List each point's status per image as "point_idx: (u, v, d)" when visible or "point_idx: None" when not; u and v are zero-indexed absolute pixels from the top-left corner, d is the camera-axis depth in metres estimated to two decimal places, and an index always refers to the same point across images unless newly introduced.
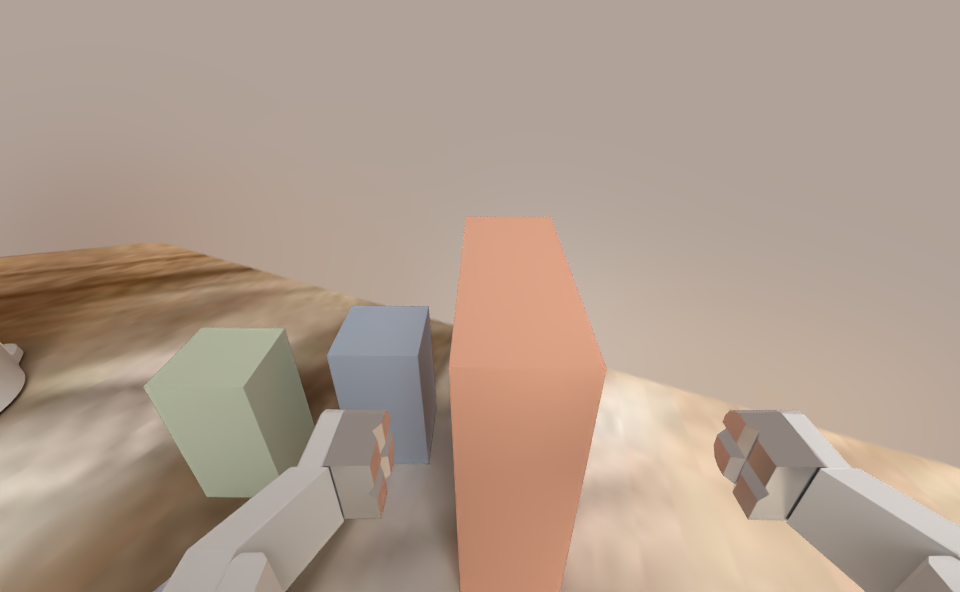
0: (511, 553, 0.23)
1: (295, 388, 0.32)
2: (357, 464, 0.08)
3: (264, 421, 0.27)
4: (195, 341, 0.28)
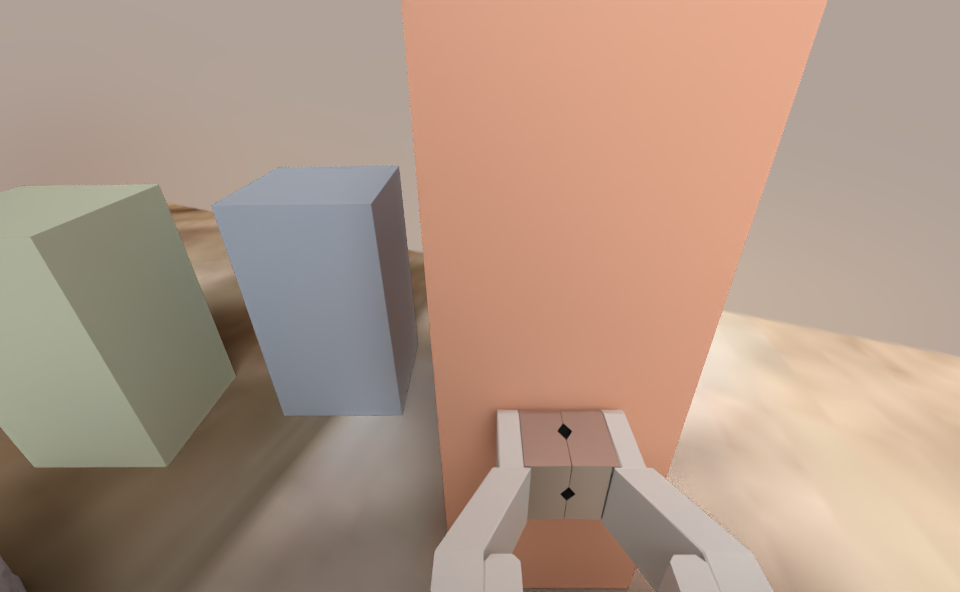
0: None
1: (186, 293, 0.20)
2: (558, 465, 0.08)
3: (101, 321, 0.15)
4: None
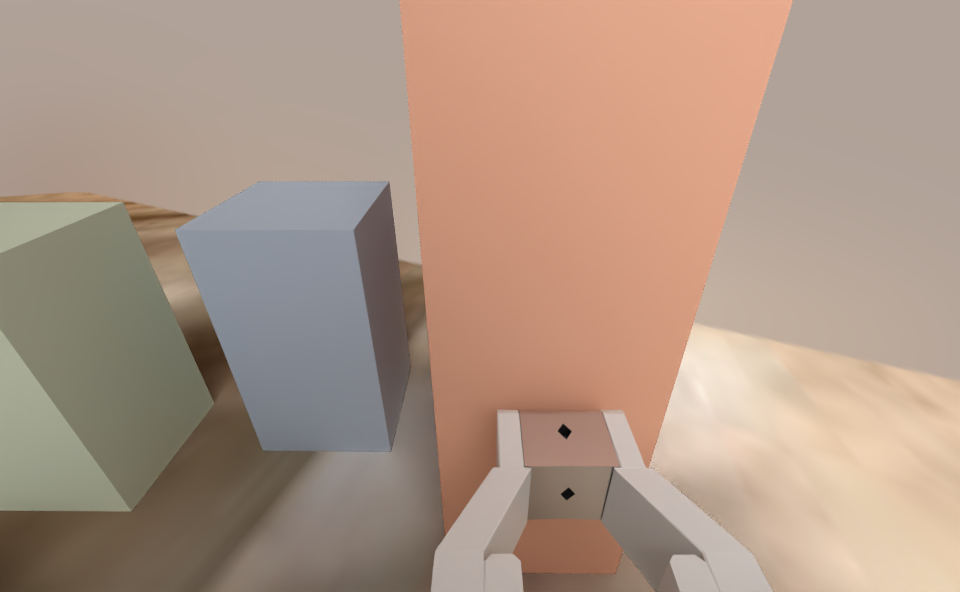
0: None
1: (156, 319, 0.18)
2: (559, 465, 0.08)
3: (50, 359, 0.14)
4: None
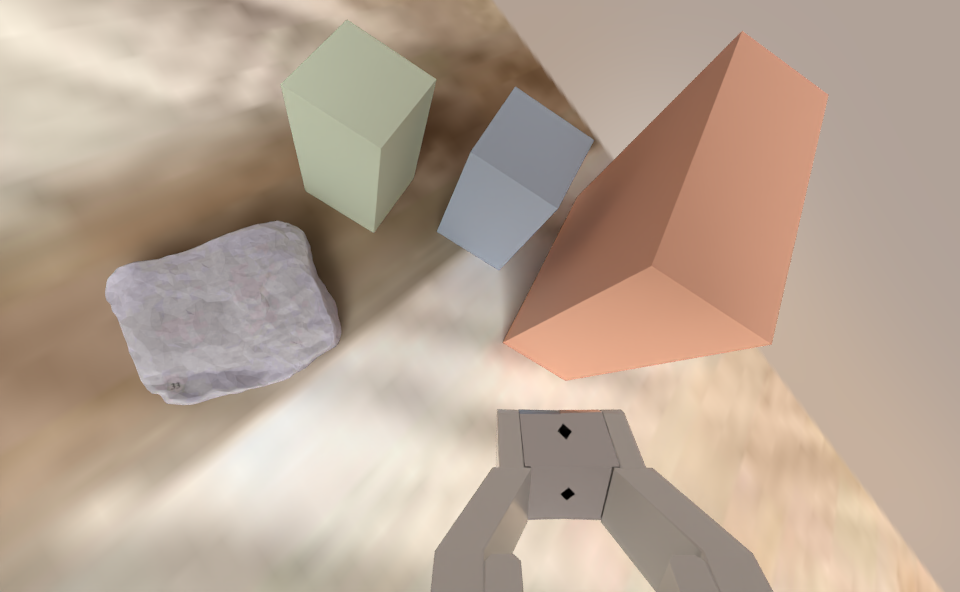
0: (559, 352, 0.29)
1: (417, 142, 0.29)
2: (559, 465, 0.08)
3: (383, 176, 0.26)
4: (338, 41, 0.23)
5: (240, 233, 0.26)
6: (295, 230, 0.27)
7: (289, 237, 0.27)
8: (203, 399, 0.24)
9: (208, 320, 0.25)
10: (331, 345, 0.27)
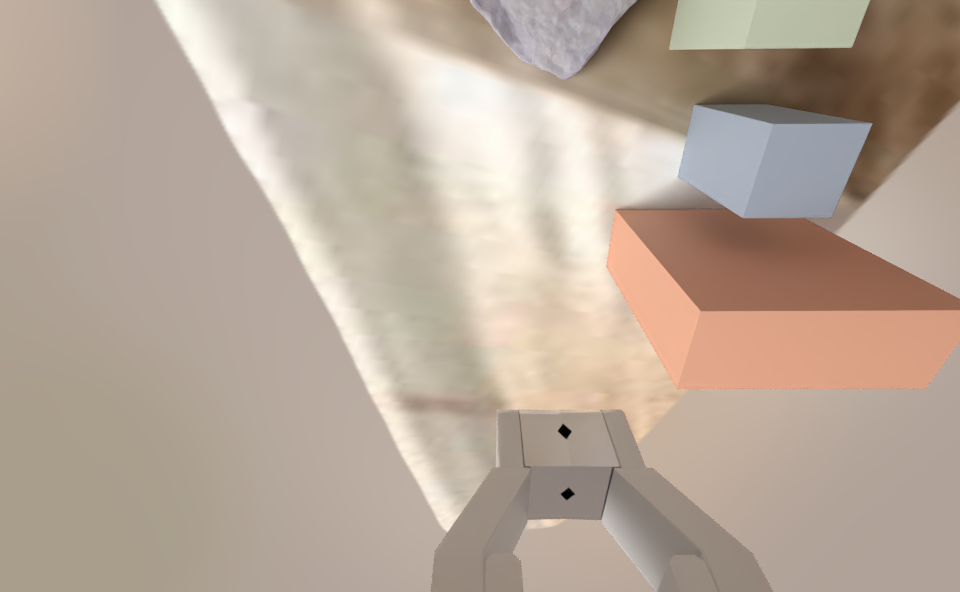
0: (624, 258, 0.37)
1: (780, 48, 0.28)
2: (559, 465, 0.08)
3: None
4: None
5: None
6: None
7: None
8: (479, 11, 0.30)
9: None
10: (562, 78, 0.32)
